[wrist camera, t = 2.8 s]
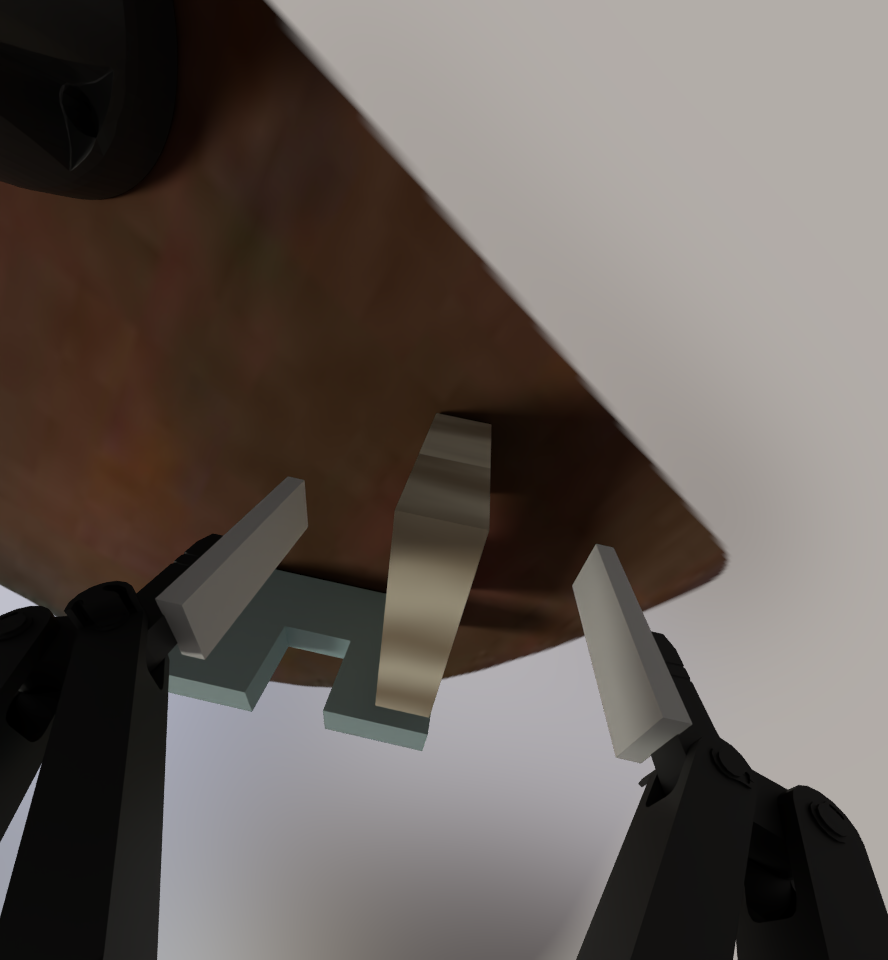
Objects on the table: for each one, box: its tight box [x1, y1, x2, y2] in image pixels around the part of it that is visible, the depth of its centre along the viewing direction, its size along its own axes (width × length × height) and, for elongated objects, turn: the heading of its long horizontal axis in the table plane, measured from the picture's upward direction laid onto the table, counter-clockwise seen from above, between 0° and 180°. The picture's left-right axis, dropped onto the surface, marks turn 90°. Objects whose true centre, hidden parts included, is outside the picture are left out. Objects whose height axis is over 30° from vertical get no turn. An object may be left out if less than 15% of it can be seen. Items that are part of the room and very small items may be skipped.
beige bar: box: [375, 413, 491, 718], centre depth 20 cm, size 16×4×10 cm, turn 171°
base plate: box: [168, 569, 431, 751], centre depth 27 cm, size 20×3×10 cm, turn 81°
